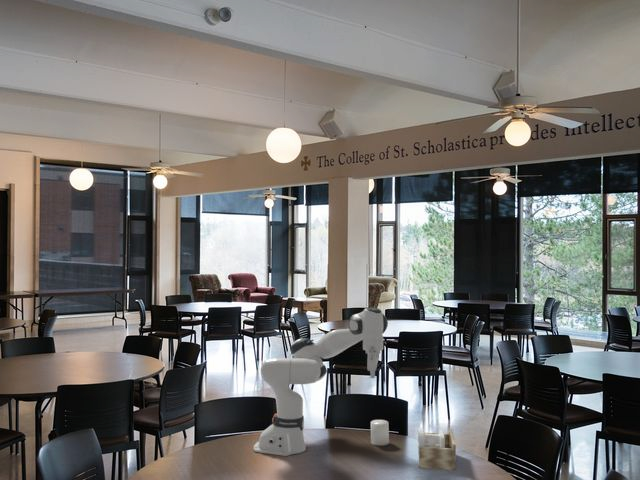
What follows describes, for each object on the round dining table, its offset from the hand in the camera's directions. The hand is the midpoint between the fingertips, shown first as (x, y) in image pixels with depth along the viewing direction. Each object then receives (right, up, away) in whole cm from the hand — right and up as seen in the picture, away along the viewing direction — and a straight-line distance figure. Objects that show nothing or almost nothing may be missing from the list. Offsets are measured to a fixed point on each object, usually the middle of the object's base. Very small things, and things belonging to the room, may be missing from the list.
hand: (372, 377), depth 263 cm
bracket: (+25, -31, -12) cm, 42 cm away
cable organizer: (+23, -32, -12) cm, 41 cm away
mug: (+4, -31, +10) cm, 33 cm away
